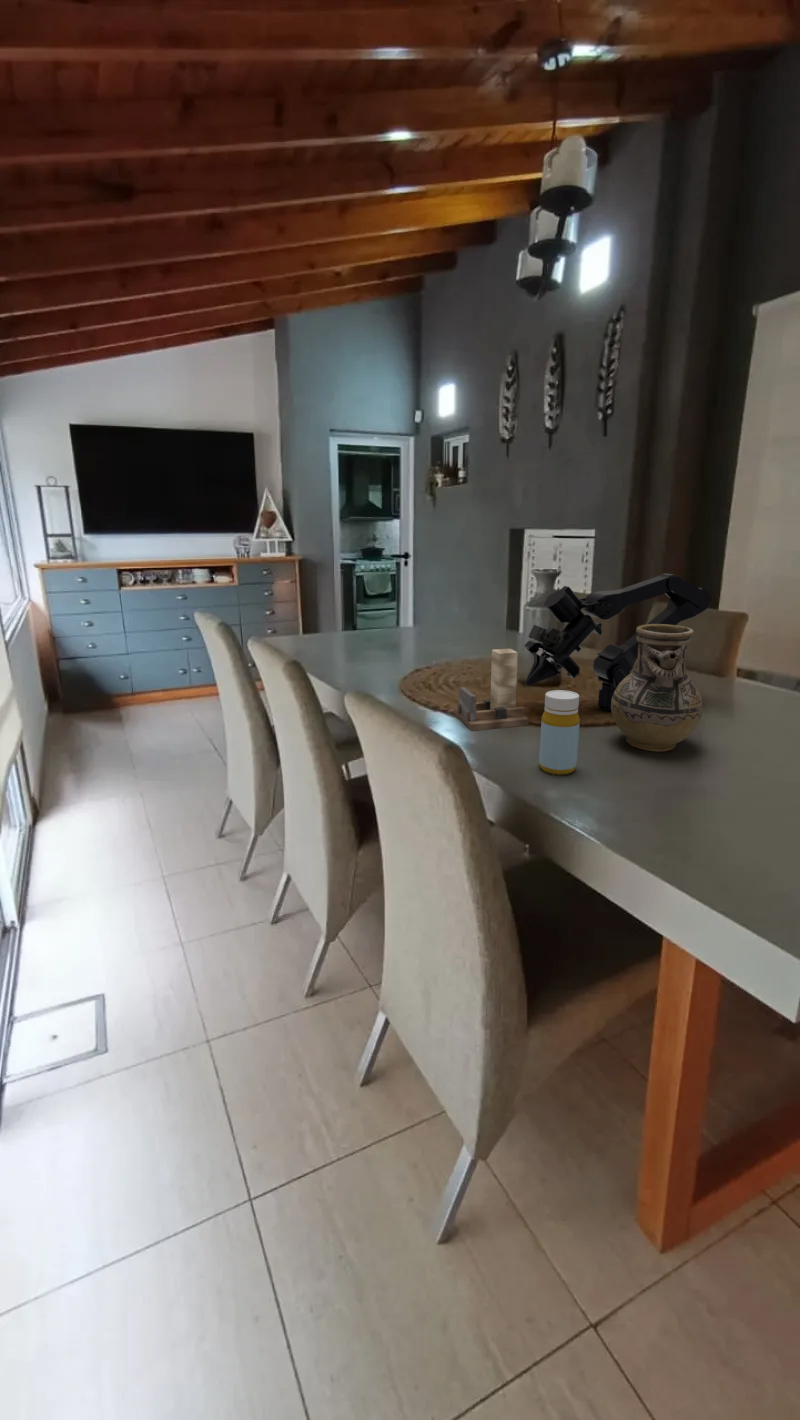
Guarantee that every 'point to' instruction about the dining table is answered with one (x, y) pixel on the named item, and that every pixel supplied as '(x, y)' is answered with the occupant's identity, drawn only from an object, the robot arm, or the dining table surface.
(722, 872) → the dining table surface
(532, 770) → the dining table surface
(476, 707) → the peg housing
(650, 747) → the decorative pitcher
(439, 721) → the dining table surface
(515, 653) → the birch peg
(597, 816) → the dining table surface
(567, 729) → the bottle
